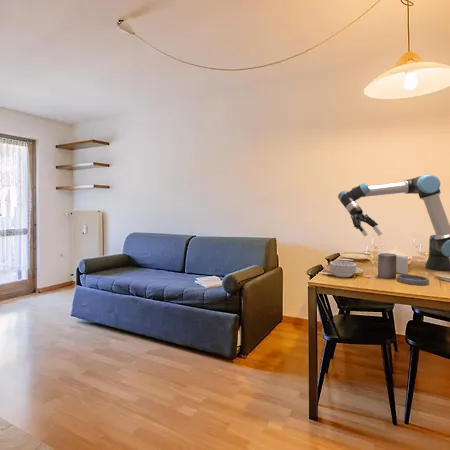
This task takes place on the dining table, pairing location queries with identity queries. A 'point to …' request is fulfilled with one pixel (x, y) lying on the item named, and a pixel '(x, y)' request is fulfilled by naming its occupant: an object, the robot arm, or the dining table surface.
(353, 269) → the paper bowls
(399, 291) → the dining table surface
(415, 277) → the candle dish
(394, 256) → the pillar candle
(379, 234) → the robot arm
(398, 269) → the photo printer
